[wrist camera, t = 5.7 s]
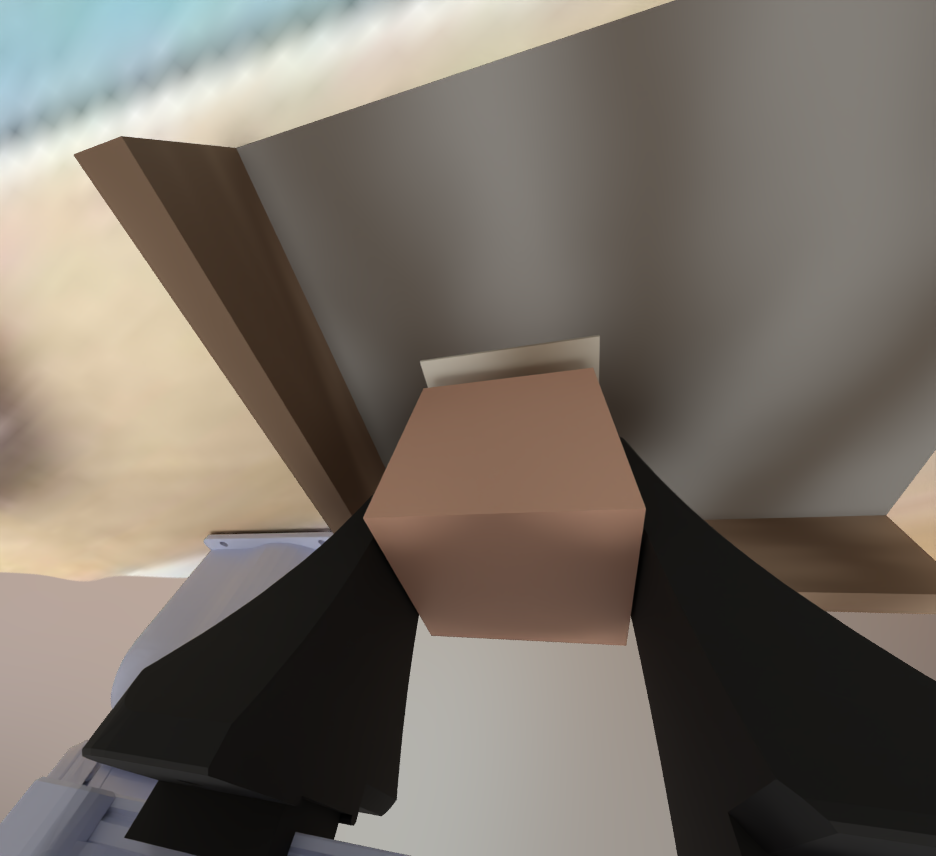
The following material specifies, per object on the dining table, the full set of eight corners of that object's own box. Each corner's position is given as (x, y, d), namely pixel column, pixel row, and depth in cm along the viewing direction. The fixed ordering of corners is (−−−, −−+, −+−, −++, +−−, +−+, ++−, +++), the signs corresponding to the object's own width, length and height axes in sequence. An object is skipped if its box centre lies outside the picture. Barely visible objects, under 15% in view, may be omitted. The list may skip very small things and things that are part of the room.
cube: (458, 498, 13) (431, 635, 9) (423, 388, 10) (362, 517, 6) (592, 492, 12) (626, 645, 8) (593, 367, 9) (645, 508, 5)
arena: (403, 526, 18) (378, 599, 15) (225, 162, 9) (73, 154, 6) (850, 515, 14) (948, 614, 11) (1328, -200, 5) (2784, -880, 2)
